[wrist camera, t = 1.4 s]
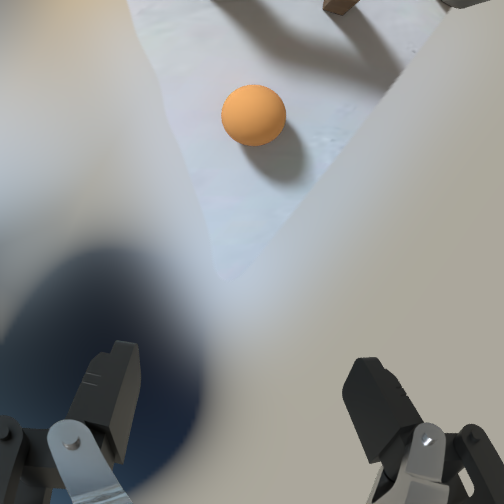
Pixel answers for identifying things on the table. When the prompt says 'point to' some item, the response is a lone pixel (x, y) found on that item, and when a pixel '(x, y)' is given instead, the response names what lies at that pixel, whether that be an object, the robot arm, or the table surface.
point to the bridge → (339, 6)
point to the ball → (253, 115)
